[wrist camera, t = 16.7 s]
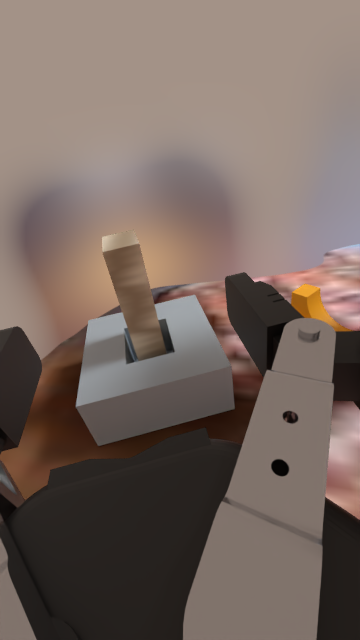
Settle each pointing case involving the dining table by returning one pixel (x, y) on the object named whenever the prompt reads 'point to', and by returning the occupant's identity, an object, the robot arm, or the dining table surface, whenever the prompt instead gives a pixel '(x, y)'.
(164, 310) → the grey square socket block
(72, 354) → the dining table surface
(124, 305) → the wooden bar
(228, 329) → the dining table surface
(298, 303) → the pipe clamp
